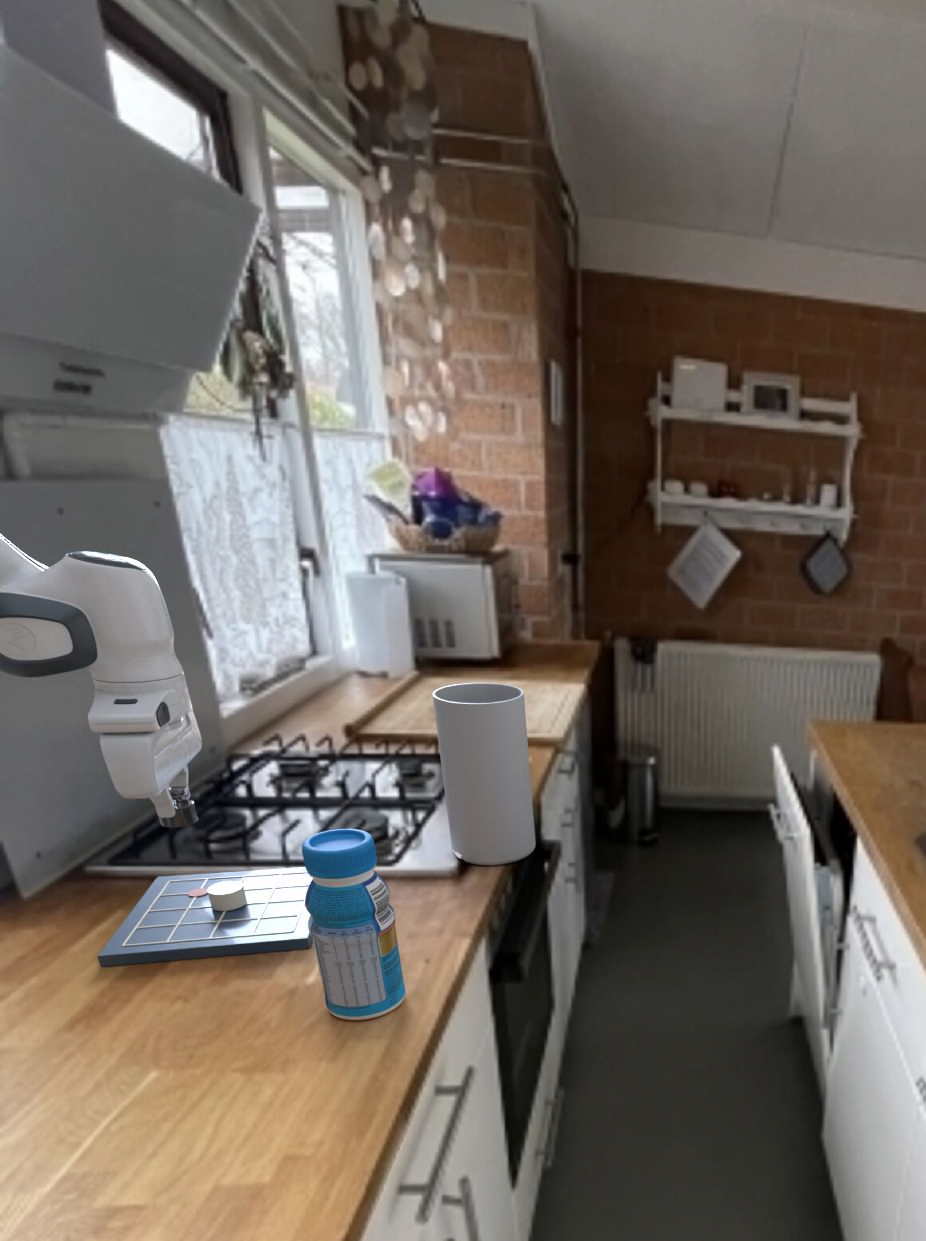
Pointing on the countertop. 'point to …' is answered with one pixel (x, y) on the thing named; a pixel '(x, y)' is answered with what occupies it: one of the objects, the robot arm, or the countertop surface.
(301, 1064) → the countertop surface
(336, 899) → the beverage bottle
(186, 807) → the black stone
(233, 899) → the ivory stone
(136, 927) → the board
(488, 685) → the cylinder vase
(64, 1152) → the countertop surface
